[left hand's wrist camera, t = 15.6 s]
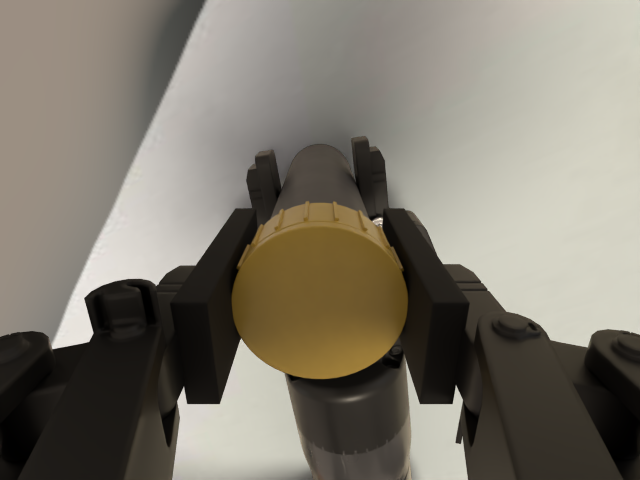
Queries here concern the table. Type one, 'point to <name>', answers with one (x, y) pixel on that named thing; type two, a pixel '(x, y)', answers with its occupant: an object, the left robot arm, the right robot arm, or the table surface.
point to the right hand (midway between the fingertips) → (311, 147)
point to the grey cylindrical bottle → (319, 180)
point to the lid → (319, 292)
